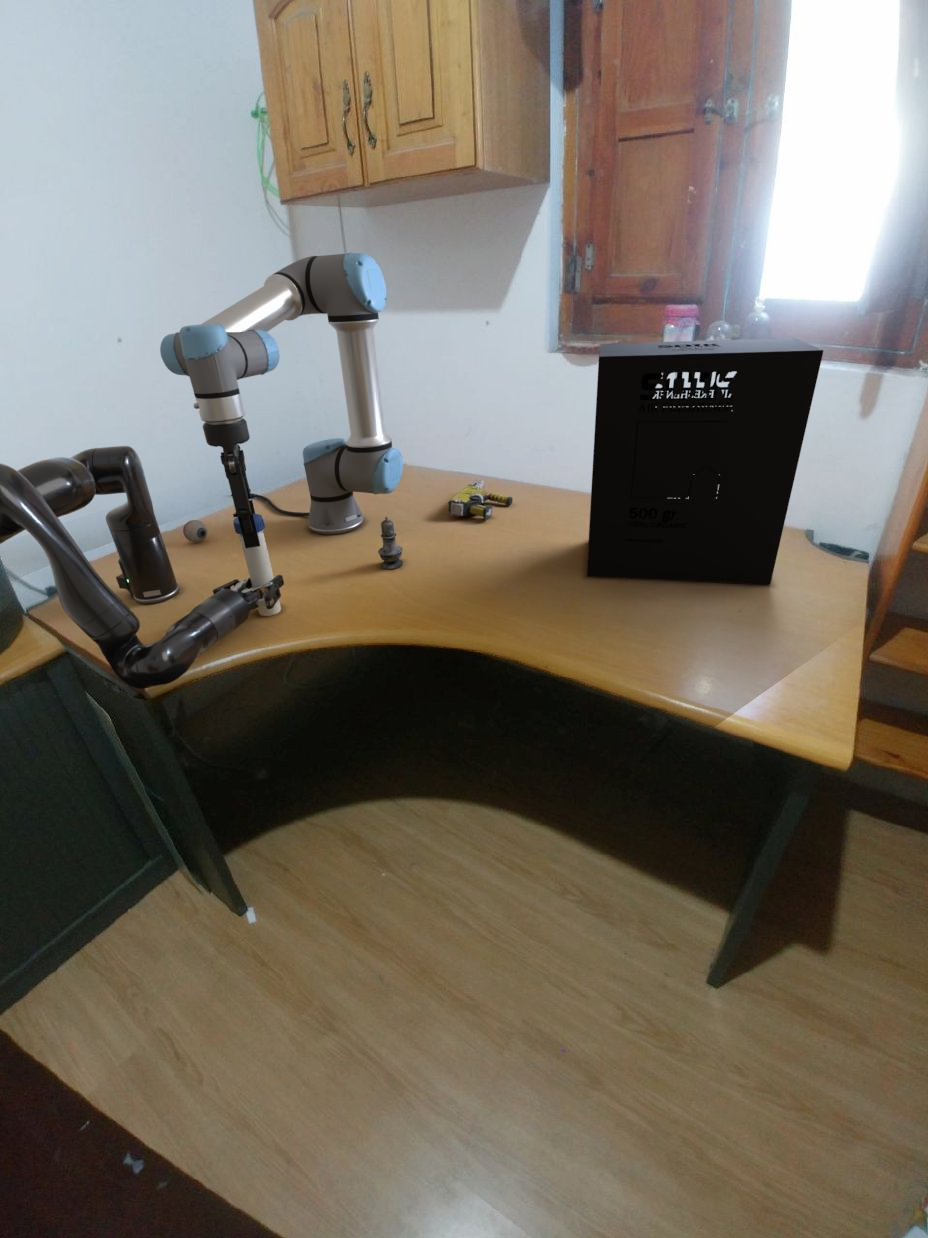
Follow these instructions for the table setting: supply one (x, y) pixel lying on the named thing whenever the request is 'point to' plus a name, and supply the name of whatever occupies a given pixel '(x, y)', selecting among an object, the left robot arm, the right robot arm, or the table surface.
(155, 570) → the left robot arm
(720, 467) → the cardboard box
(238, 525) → the lid
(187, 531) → the eyeball
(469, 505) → the toy gun
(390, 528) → the grey tall stepped piece
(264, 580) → the jar
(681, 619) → the table surface
